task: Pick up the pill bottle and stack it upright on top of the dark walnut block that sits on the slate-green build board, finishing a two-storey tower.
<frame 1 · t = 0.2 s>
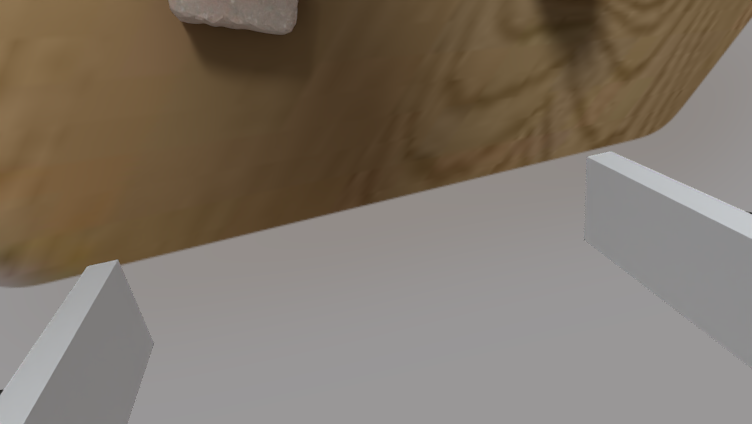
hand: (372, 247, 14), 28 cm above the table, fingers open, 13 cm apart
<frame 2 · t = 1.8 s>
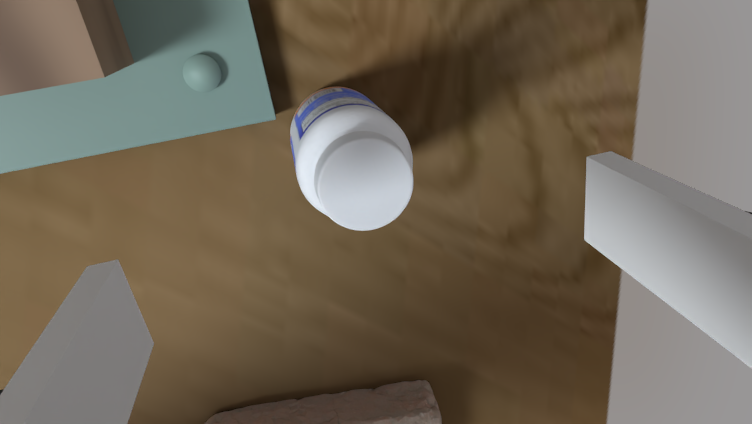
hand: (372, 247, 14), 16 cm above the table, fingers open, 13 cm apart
pill bottle: (335, 131, 29), on the table
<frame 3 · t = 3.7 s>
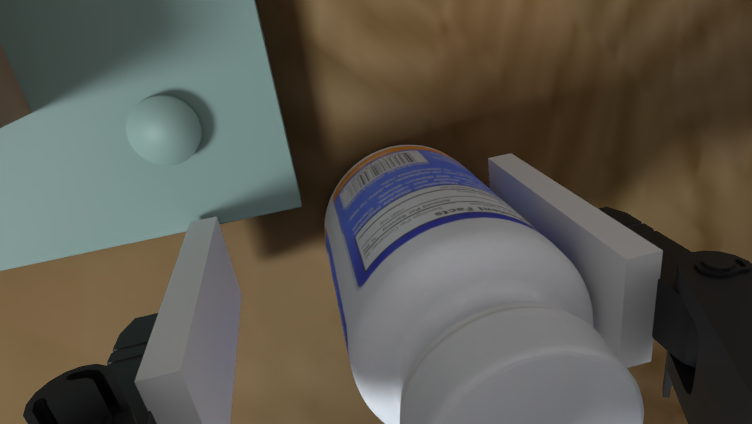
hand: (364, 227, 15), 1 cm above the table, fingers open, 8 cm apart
pill bottle: (399, 214, 17), on the table, touching gripper
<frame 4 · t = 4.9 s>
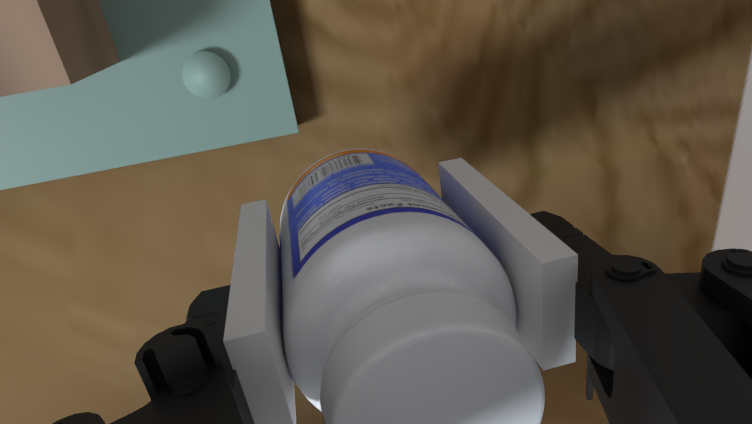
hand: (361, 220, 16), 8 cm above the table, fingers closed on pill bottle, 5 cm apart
pill bottle: (355, 216, 18), point 6 cm above the table, touching gripper
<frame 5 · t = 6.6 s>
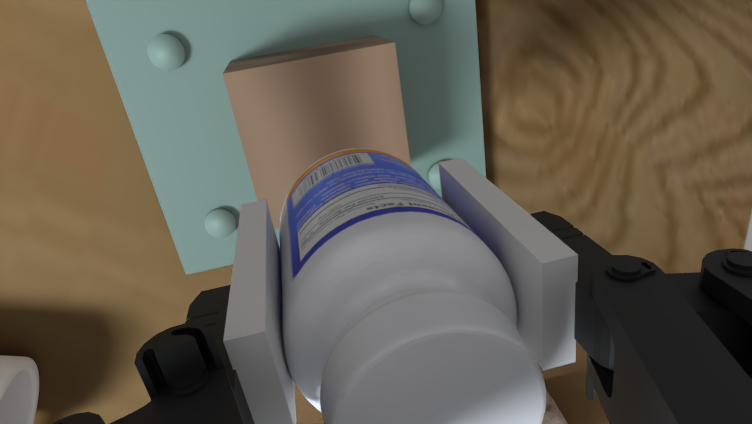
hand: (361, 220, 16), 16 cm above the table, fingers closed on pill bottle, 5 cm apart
walnut block: (318, 119, 29), point 1 cm above the table, touching build board
build board: (316, 114, 30), on the table
pill bottle: (355, 216, 18), point 14 cm above the table, touching gripper
when the fingers open (8 cm above the table, at t = 8.5 s): pill bottle stays where it is, resting on walnut block.
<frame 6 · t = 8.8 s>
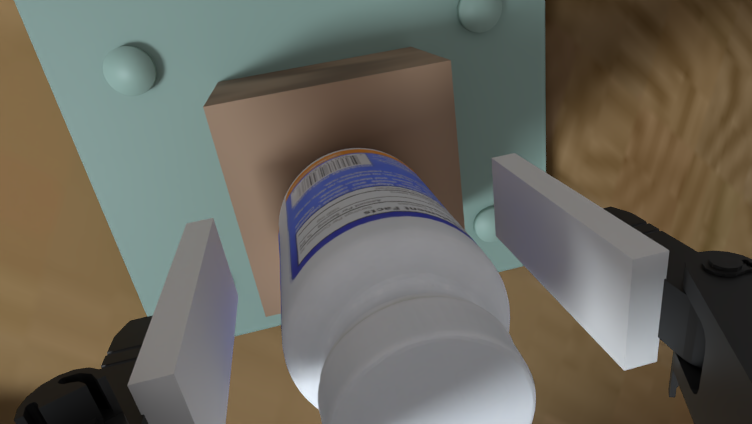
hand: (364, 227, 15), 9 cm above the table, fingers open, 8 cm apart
walnut block: (334, 156, 22), point 1 cm above the table, touching build board, pill bottle
build board: (331, 149, 23), on the table
pill bottle: (353, 214, 18), point 6 cm above the table, touching walnut block
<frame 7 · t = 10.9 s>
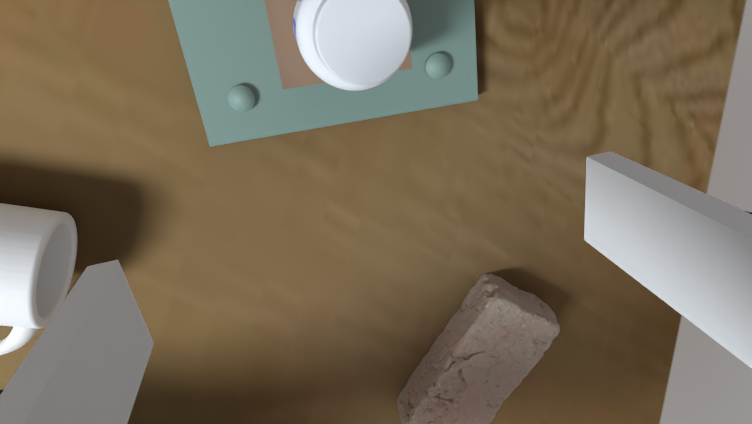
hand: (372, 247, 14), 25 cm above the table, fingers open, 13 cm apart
walnut block: (329, 5, 33), point 1 cm above the table, touching build board, pill bottle
build board: (328, 4, 34), on the table
pill bottle: (338, 22, 29), point 6 cm above the table, touching walnut block
mug: (5, 255, 37), on the table
brick: (466, 346, 50), on the table
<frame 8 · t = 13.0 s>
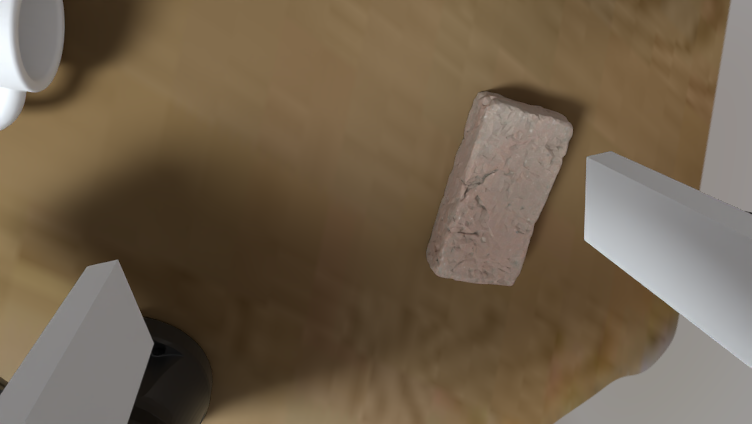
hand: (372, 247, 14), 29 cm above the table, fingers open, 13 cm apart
brick: (483, 184, 47), on the table
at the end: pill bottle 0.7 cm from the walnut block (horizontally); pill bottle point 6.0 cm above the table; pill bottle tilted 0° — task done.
